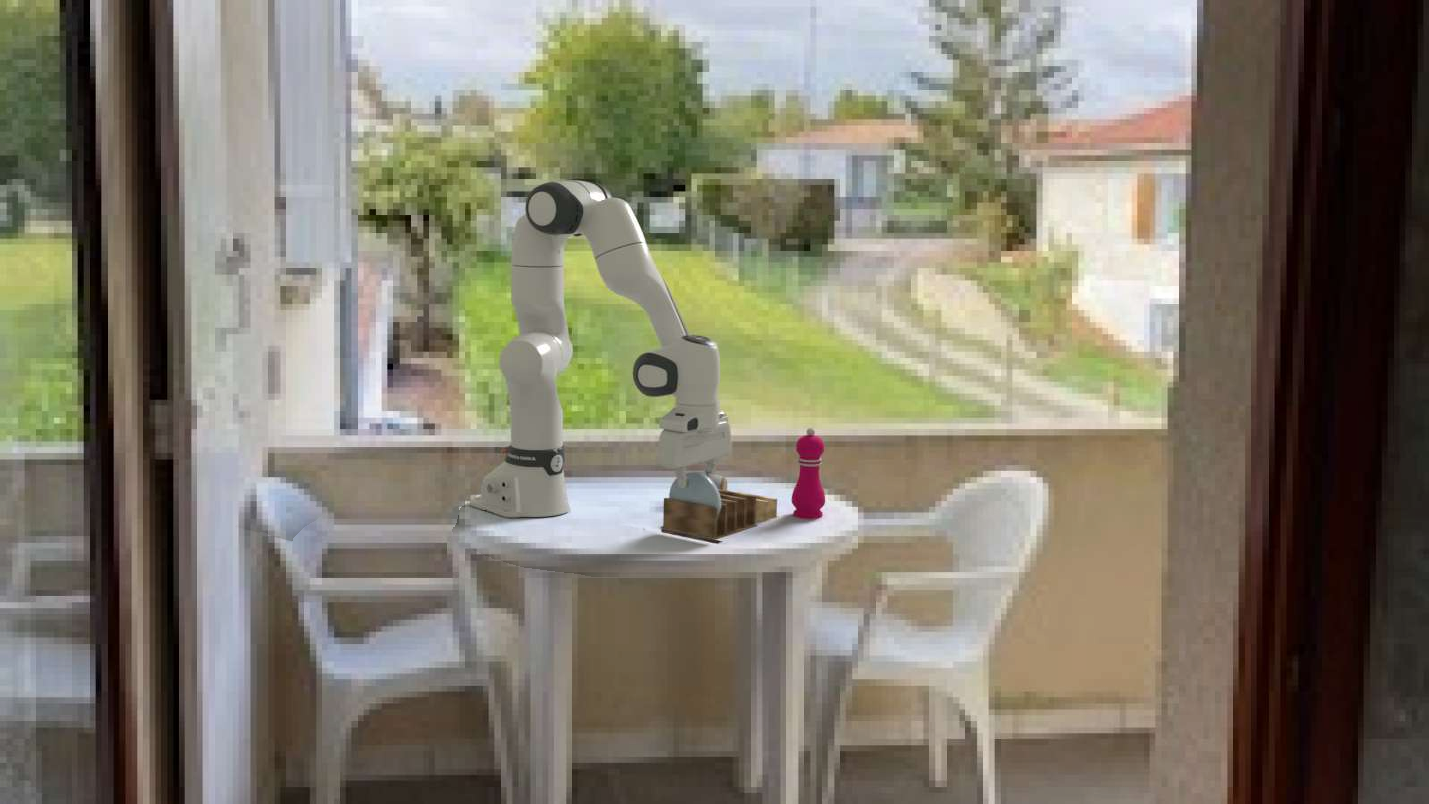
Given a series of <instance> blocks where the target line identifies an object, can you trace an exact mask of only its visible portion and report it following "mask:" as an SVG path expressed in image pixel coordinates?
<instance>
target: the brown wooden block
mask: <svg viewBox="0 0 1429 804" xmlns="http://www.w3.org/2000/svg"><path fill="white" fill-rule="evenodd" d="M737 493H742V494H748V495H753V496H756V521H758V522H767V521H771V520H774V519H776V518H779V517H780V516H779V515H777V514H778V513H777V512H778V498H774V497H768V496H762V495H757V494H753V493H747V492H742V491H737Z"/></svg>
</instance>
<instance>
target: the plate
mask: <svg viewBox="0 0 1429 804" xmlns="http://www.w3.org/2000/svg"><path fill="white" fill-rule="evenodd" d="M685 475H686V478H687V479H689V487H686V488H679V487H678V479H677V477H676V478H675V479H674V481H673V482H672V484H671V486H670V490H669V493H668V494H669V495H668V498H671V499H676V500H681V501H686V502H692V503H697V504H702V505H707V506H712V507H718V516H717V520H718V518H719V515H720V512H721V497H720V493H719V491H718V488H717V486H716V485H715V483H714V482H713V481H712V480H711V479H710V478H709V477H708V476H707V475H705V474H703V473H702V472H700V471H690V472H686V473H685Z"/></svg>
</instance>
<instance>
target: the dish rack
mask: <svg viewBox="0 0 1429 804" xmlns="http://www.w3.org/2000/svg"><path fill="white" fill-rule="evenodd" d="M718 491H719V493H720V497H721V512H720V515H719V518H718V520H717V516H718V507H712V506H707V505H702V504H697V503H692V502H686V501H681V500H676V499H671V498H669V497H663V516H662V517H663V518H662V520H663V521H662V522H663V523H662V525H663V526H662V525H661V529H660V531H661V533H663V534H668V535H673V536H678V537H682V538H687V539H693V540H698V541H702V542H707V543H709V544H716V545H718V544H720V543H723V542H724V541H723V540H718V539H721V538H724V537H727V536H730V535H733V534H737V533H739V532H742V531H743V532H744V531H746V530H748V529H751V528H755V527H758V524H756V521H757V520H756V496H753V495H754V494H753V495H748V494H749V493H747V494H742V493H743V492H742V493H737V492H738V491H737V492H736V491H732V490H731V491H730V490H727V491H726V490H720V489H718Z"/></svg>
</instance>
